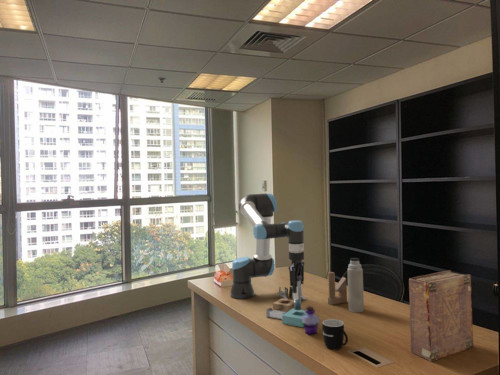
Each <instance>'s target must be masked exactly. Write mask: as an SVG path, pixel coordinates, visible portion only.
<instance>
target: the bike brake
mask: <svg viewBox="0 0 500 375" xmlns="http://www.w3.org/2000/svg"><path fill="white" fill-rule="evenodd" d="M277 296H278V297H281V298H283V299H289V298H291V299H293V286H289V289H288V287H286V286H285V287H284V291H283V290H282V288H281V286H279V287H278V292H277ZM288 297H289V298H288ZM302 301H304V302H305V301H307V298H306V297H305V296H303V295H302V297H301V302H302Z"/></svg>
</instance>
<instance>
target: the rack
mask: <svg viewBox="0 0 500 375" xmlns="http://www.w3.org/2000/svg"><path fill="white" fill-rule="evenodd" d="M293 308H294V299H289V298H288V299H284V298H283V297H281V298H279V299H278V300H276V301H275V302H273V303H272V310H278V311H283V312H286V313H287V312H288V311H290V310H291V309H293Z"/></svg>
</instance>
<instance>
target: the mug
mask: <svg viewBox="0 0 500 375" xmlns="http://www.w3.org/2000/svg"><path fill="white" fill-rule="evenodd" d="M321 325H322V336H323V341H324V345H325V347H326V348H327V349H329V350H333V349H337V350H340V349H341V348H342V347H344V346H346V345H348V342H349V337H348V333H347V332H346V331H345V322H343V320H340V319H335V318H334V319H333V318H329V319H328V318H327V319H325V320H323V321H322V324H321ZM344 337H345V338H344ZM344 339H345V341H344Z"/></svg>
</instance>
